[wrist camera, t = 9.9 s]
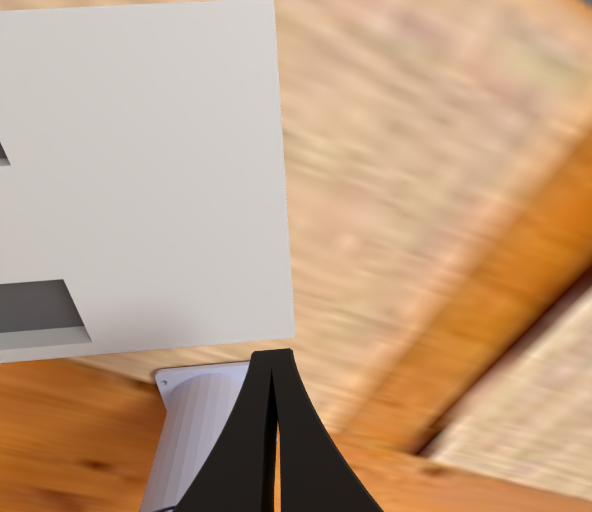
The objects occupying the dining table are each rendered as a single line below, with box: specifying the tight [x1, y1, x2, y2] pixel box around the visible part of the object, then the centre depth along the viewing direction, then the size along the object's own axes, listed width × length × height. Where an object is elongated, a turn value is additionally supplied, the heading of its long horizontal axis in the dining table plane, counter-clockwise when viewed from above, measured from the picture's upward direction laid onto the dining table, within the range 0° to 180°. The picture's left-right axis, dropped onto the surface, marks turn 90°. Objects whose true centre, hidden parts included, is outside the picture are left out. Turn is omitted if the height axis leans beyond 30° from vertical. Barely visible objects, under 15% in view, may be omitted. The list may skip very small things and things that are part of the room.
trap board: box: [0, 0, 295, 363], centre depth 16 cm, size 17×26×4 cm, turn 93°
